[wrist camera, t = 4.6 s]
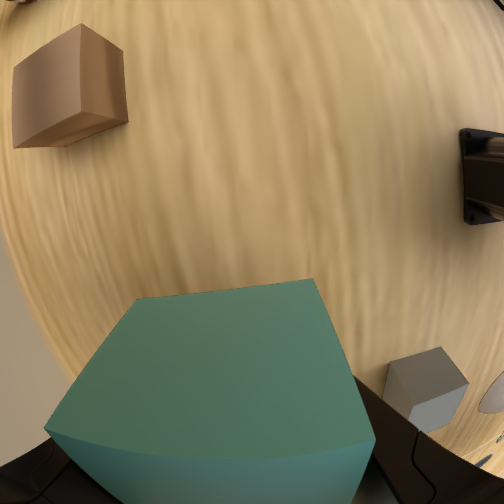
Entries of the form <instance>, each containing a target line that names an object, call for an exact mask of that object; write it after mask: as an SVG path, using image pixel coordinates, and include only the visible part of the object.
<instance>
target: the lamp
mask: <svg viewBox="0 0 504 504" xmlns="http://www.w3.org/2000/svg"><path fill="white" fill-rule="evenodd" d="M503 410H504V372H503V373H502V374H501V375H500V376H499V377H498V378H497V379H496V381H495V382H494V383H493V384H492V385H491V387H490V388H489V389H488V391H487V392H486V394H485V395H484V397H483V399H482V401H481V403H480V405H479V411H480V412H481V413H486V414H494V413H498V412H501V411H503Z"/></svg>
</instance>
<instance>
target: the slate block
mask: <svg viewBox="0 0 504 504" xmlns="http://www.w3.org/2000/svg"><path fill="white" fill-rule="evenodd" d="M468 385H469V382H468V381H467V379H466V378H465V377H464V375H463V374H462V373H461V372H460V370H459V369H458V368H457V366H456V365H455V364H454V362H453V361H452V360H451V359H450V357H449V356H448V355H447V354H446V352H445V351H444V350H443V349H442V347H438V348H435V349H432V350H429V351H426V352H423V353H419V354H416V355H413V356H409V357H406V358H402V359H399V360H395V361H391V362H390V363H389V368H388V374H387V379H386V383H385V388H384V393H383V397H382V399H383V400H384V401H385V402H386V403H388V404H389V405H390V406H391V407H393V408H394V409H395V410H396V411H397V412H399V413H400V414H401V415H402V416H404V417H405V418H406V419H407V420H409V421H410V422H411V423H412V424H414V425H415V426H416V427H417V428H419V431H420V430H421V431H423V432H424V433H425V434H426V433H428V432H431V431H433V430H436V429H438V428H440V427H443V426H445V425H447V424H449V423H450V422H451V420H452V418H453V416H454V414H455V412H456V410H457V408H458V406H459V404H460V402H461V400H462V398H463V396H464V394H465V392H466V389H467V387H468Z"/></svg>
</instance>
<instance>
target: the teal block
mask: <svg viewBox="0 0 504 504" xmlns="http://www.w3.org/2000/svg"><path fill="white" fill-rule="evenodd" d="M44 429H45V430H46V431H47V432H48V434H49V435H50V436H51V437H52V438H53V439H54V441H55V442H56V443H57V444H58V445H59V446H60V447H61V448H62V449H63V450H64V451H65V452H66V453H67V454H68V456H69V457H70V458H71V459H72V460H73V461H74V462H75V463H77V464H78V465H79V466H80V467H81V468H82V469H83V470H84V471H85V472H86V473H87V474H88V475H89V476H90V477H92V478H93V479H94V480H95V481H96V482H97V483H99V484H100V485H101V486H102V487H103V488H104V489H106V490H107V491H108V492H109V493H111V494H112V495H113V496H114V497H116V498H117V499H118V500H120V501H121V502H122V503H124V504H351V502H352V500H353V497H354V495H355V493H356V491H357V488H358V486H359V484H360V481H361V479H362V477H363V474H364V472H365V469H366V466H367V464H368V461H369V458H370V456H371V453H372V450H373V447H374V444H375V441H376V438H375V435H374V432H373V429H372V426H371V423H370V421H369V418H368V415H367V412H366V409H365V407H364V404H363V401H362V399H361V396H360V393H359V390H358V388H357V385H356V382H355V380H354V377H353V375H352V372H351V369H350V367H349V364H348V362H347V359H346V357H345V354H344V352H343V349H342V347H341V344H340V342H339V339H338V337H337V334H336V332H335V329H334V327H333V325H332V322H331V320H330V317H329V315H328V313H327V310H326V308H325V305H324V303H323V301H322V298H321V296H320V294H319V291H318V289H317V287H316V285H315V282H314V280H313V279H306V280H299V281H292V282H284V283H277V284H269V285H262V286H254V287H246V288H238V289H230V290H221V291H212V292H203V293H194V294H185V295H175V296H165V297H154V298H143V299H137V300H136V301H135V302H134V303H133V305H132V306H131V307H130V308H129V310H128V311H127V312H126V313H125V315H124V316H123V317H122V319H121V320H120V321H119V322H118V324H117V325H116V326H115V327H114V329H113V330H112V331H111V333H110V334H109V335H108V337H107V338H106V339H105V341H104V342H103V343H102V345H101V346H100V347H99V349H98V350H97V351H96V353H95V354H94V355H93V357H92V358H91V359H90V361H89V362H88V363H87V365H86V366H85V368H84V369H83V370H82V372H81V373H80V375H79V376H78V377H77V379H76V380H75V382H74V383H73V384H72V386H71V387H70V389H69V390H68V392H67V393H66V395H65V396H64V398H63V399H62V400H61V402H60V403H59V405H58V406H57V408H56V409H55V411H54V413H53V414H52V415H51V417H50V419H49V420H48V422H47V423H46V425H45V426H44Z"/></svg>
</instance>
